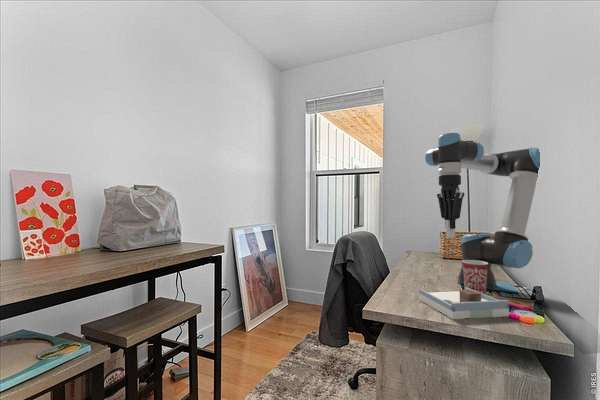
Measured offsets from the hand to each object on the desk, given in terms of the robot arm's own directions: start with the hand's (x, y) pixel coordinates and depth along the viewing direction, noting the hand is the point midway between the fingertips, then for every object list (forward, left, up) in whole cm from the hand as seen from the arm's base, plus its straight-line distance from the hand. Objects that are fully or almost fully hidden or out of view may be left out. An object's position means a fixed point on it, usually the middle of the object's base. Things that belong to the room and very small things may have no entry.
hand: (450, 237), depth 110 cm
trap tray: (0, +5, -24) cm, 25 cm away
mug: (-16, -8, -25) cm, 30 cm away
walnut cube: (0, +10, -22) cm, 24 cm away
